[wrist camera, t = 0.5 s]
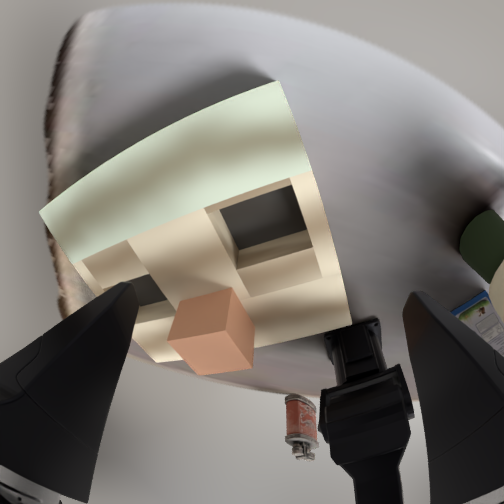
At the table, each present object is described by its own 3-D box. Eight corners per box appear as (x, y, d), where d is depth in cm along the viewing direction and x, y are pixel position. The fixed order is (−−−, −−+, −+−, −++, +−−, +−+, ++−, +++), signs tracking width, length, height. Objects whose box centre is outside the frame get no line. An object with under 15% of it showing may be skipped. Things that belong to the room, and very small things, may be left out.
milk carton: (447, 313, 27) (504, 454, 11) (485, 289, 25) (551, 419, 9) (451, 348, 32) (490, 462, 15) (483, 329, 30) (529, 436, 13)
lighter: (279, 397, 38) (279, 456, 30) (299, 392, 37) (302, 452, 29) (302, 413, 42) (304, 464, 34) (320, 408, 41) (324, 460, 32)
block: (254, 326, 25) (252, 367, 21) (206, 336, 26) (198, 375, 22) (232, 287, 22) (225, 330, 18) (179, 301, 23) (166, 341, 20)
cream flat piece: (346, 302, 27) (352, 324, 24) (162, 343, 32) (156, 362, 29) (276, 81, 16) (278, 80, 14) (56, 197, 21) (38, 211, 19)
